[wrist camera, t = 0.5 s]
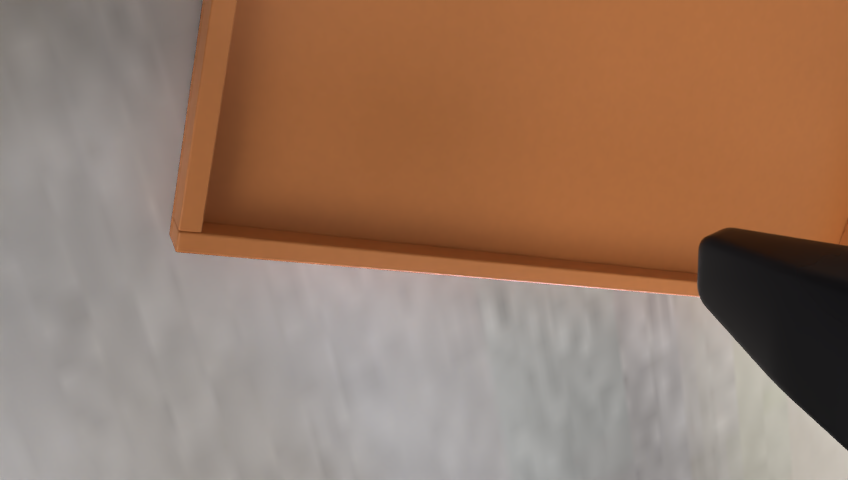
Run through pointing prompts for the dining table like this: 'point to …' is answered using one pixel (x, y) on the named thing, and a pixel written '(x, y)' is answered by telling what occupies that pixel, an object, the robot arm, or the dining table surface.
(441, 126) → the tray
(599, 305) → the dining table surface
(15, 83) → the dining table surface
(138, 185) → the dining table surface
